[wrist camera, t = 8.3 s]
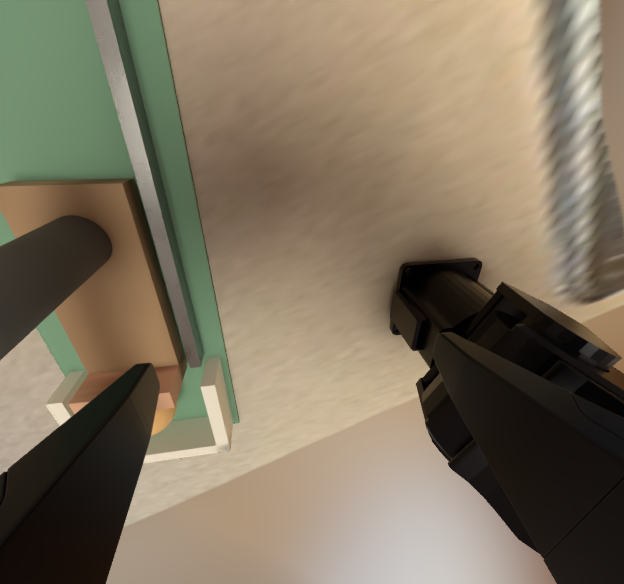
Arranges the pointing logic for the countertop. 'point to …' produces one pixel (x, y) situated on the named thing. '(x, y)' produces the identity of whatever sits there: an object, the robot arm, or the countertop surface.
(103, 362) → the striker sled
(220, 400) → the box
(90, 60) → the mat
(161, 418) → the foosball
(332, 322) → the countertop surface
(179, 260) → the guide rail
